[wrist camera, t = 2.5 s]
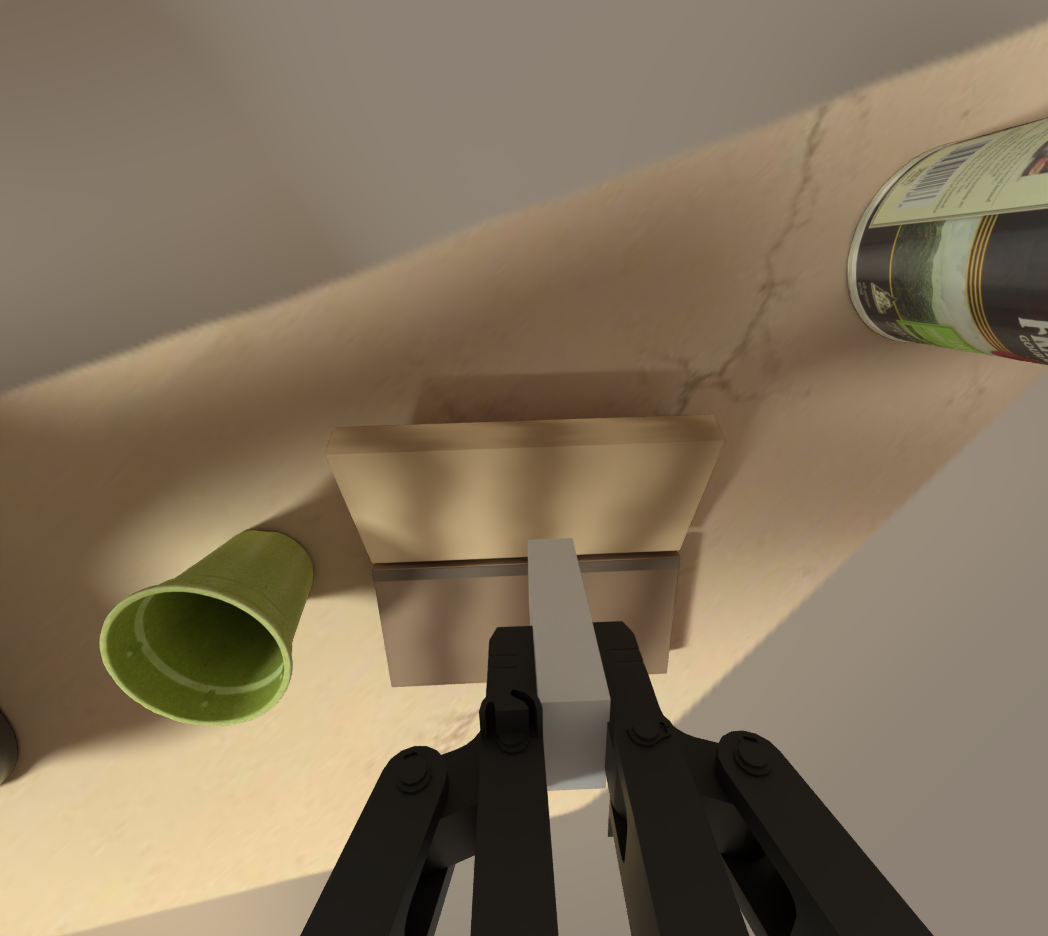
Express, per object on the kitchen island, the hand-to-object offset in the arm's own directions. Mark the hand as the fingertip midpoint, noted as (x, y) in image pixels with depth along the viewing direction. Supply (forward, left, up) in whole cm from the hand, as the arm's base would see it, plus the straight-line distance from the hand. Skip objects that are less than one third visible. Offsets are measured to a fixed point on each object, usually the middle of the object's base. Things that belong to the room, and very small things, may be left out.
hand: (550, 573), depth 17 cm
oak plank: (0, -2, -13) cm, 13 cm away
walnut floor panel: (0, -13, -15) cm, 20 cm away
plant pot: (-18, -9, -15) cm, 25 cm away
